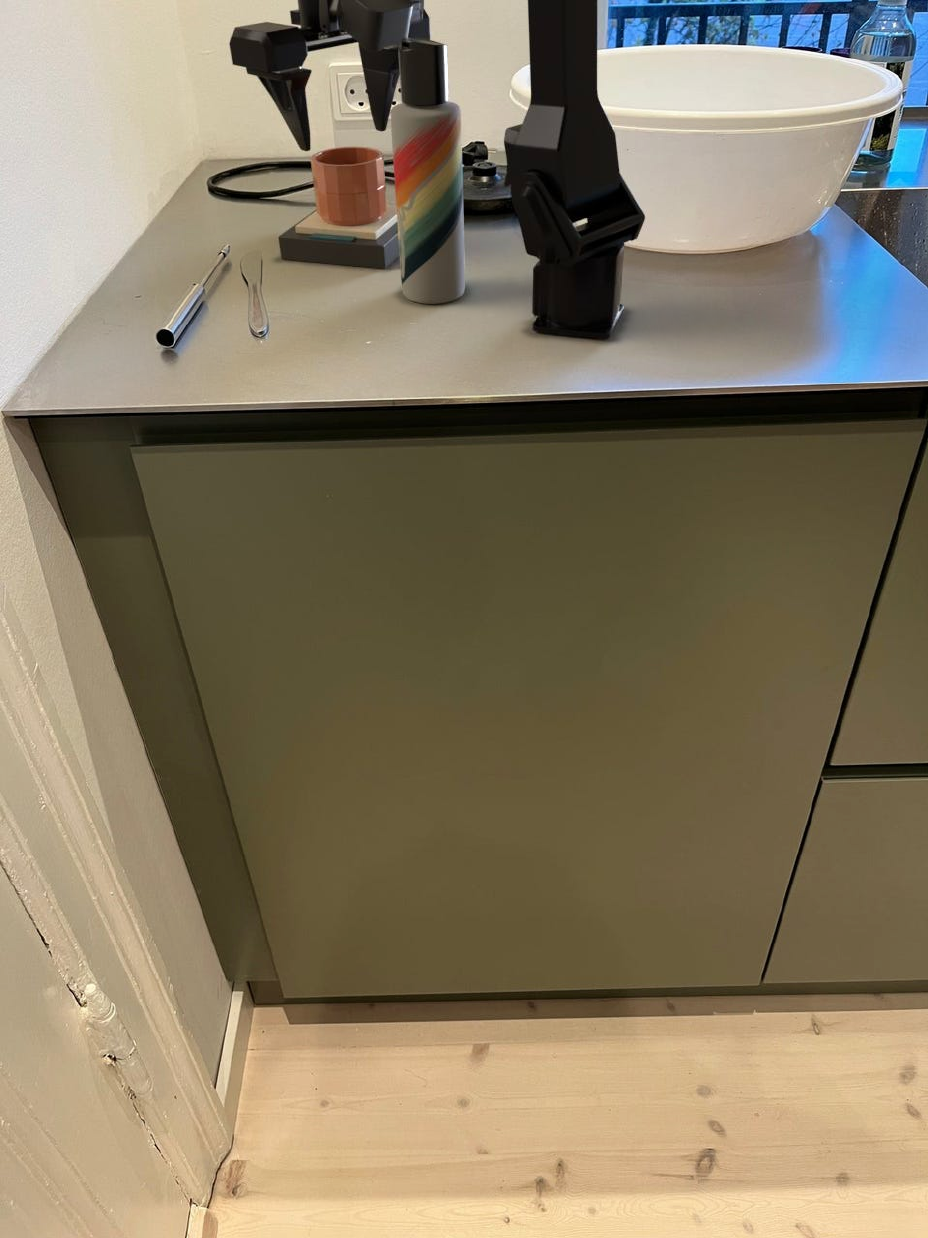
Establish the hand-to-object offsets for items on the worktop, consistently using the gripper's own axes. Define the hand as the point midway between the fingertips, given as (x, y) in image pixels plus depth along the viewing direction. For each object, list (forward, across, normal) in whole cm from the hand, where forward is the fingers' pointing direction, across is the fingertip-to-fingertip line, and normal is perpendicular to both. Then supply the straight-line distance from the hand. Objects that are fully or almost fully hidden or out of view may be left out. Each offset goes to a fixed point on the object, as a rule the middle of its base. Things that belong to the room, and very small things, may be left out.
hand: (344, 140), depth 92 cm
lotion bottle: (+10, -4, -15) cm, 19 cm away
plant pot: (+7, 0, 0) cm, 7 cm away
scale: (+10, 0, 0) cm, 10 cm away
